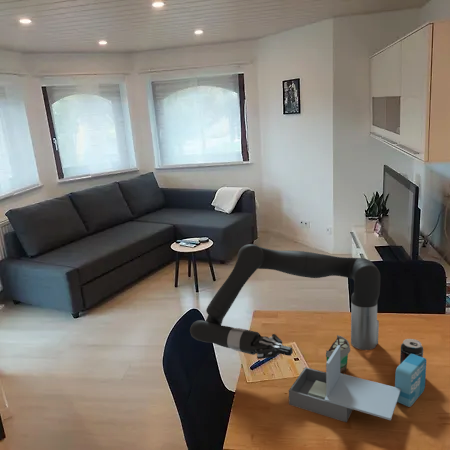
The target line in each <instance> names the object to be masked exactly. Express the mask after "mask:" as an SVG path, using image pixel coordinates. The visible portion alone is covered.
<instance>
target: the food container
mask: <svg viewBox="0 0 450 450" xmlns="http://www.w3.org/2000/svg"><path fill="white" fill-rule="evenodd" d="M338 345H340V373H342V374H346V372H347V367H348V358H349V357H348V356H349V353H350V352H351V344H350V343H349V341H348V340H347V338H345V337H344V336H342V335H336V339H335V340H334V342H333V343H332V344H331V346H330V348H328V350H325V357H326V362H327V361H328V359H329V358H330V356H331V355H332V353H333V352H334V350H335V349H336V347H337V346H338Z"/></svg>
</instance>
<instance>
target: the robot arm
mask: <svg viewBox="0 0 450 450" xmlns="http://www.w3.org/2000/svg"><path fill="white" fill-rule="evenodd" d="M236 256H237V257H236V258H237V260H236V262H235V265H234V267H233V268H232V270H231V272H230V274H229V275H228V277H227V278H226V280H225V281H224V282H223V284H221V286H220V287H219V289H218V290H217V292H216V293H215V294H214V296H212V297H213V298H212V299H211V301H210V302H209V303H208V304H207V306H206V310H205V311H206V314H207V317H206V319H205V320H201V319H199V320H196V321H194V322H192V324H191V325H190V328H189V332H190V336H191V337H192V338H193V339H194V340H196V341H198V342H203V343H210V344H215V345H217V346H221V347H223V348H227V349H231V350H234V351H236V352H240V353H244V354H248V355H251V356H254V355H256V357H257V359H258V360H262V359H269V358H275V357H276V356H277V355H279V356H280V355H284V356H289V357H290V356H292V355H293V347H291V346H288V345H283V340H282V339H281V338H280V337H279V336H278V335H277V334H275V333H272V334H271V336H262V335H261V334H260V332H258V331H255V330H254V331H253V330H251V329H245V328H240V327H239V328H238V327H232V326H228V325H222V324H223V320H224V319H225V316H226V315H227V314H228V312H229V310H230V309H231V307H232V305H233V304H234V302H235V300H236V299H237V298H238V296H239V294H240V292H241V290H242V289H243V287H244V286H245V284H246V283H247V282H248V280H249V279H250V278H251V277H252V275H254V274H255V272H256V271H257V270H273V271H276V272H277V271H278V272H281V273H284V274H287V275H288V274H289V275H291V276H296V277H302V278H310V279H321V278H327V277H341V278H342V277H343V278H349V279H350V280H353V292H352V294H351V299H350V300H351V303H350V305H351V308H350V313H351V314H350V345H351V346H353V347H354V348H355V349H358V350H362V351H368V350H369V351H370V350H373V349H375V348H376V346H377V345H378V344H379V325H380V324H379V323H380V322H379V320H378V300H379V297H380V294H381V292H380V291H381V273H380V270H379V268H378V267H377V266H376V265H375V263H373V262H372V261H371V260H370V259H367V258H363V257H345V256H344V257H343V256H342V257H341V256H334V255H329V254H322V253H318V252H317V253H316V252H311V251H310V252H309V251H304V250H303V251H302V250H276V249H270V248H265V247H261V246H259V245H257V244H254V243H249V244H248V243H247V244H245V245H243V246H241V247H240V249H239V250H238V252H237V255H236Z"/></svg>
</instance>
